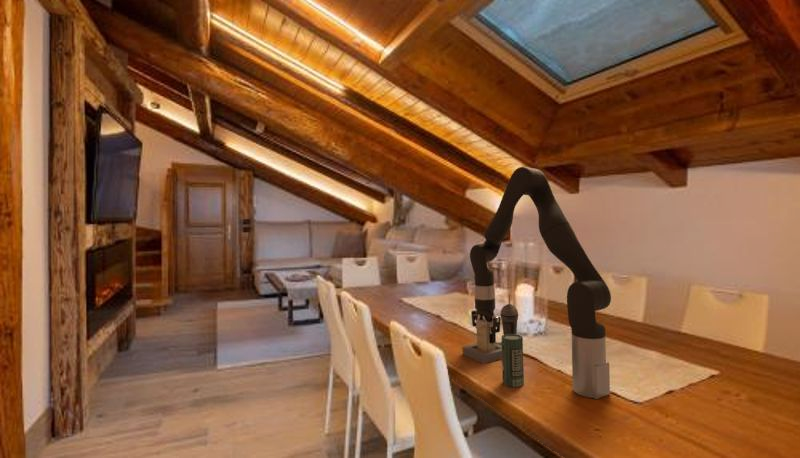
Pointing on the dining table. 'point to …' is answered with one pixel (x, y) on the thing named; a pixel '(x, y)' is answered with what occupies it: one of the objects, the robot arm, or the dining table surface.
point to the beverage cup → (509, 318)
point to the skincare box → (484, 337)
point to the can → (512, 360)
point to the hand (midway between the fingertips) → (486, 340)
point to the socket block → (483, 353)
